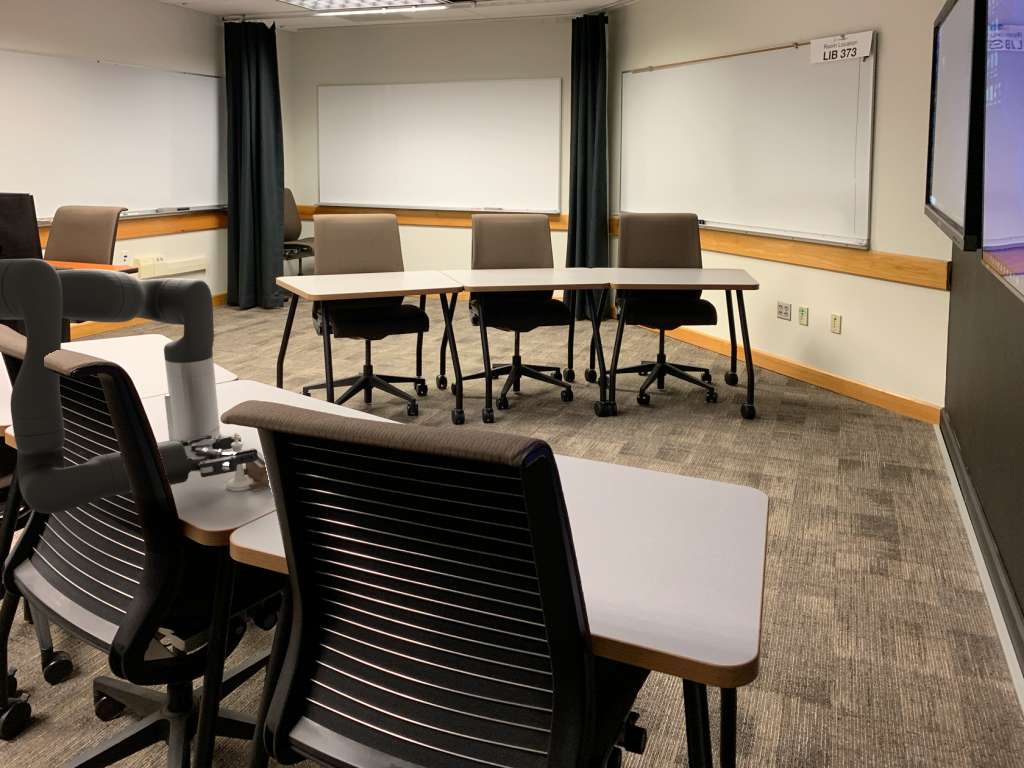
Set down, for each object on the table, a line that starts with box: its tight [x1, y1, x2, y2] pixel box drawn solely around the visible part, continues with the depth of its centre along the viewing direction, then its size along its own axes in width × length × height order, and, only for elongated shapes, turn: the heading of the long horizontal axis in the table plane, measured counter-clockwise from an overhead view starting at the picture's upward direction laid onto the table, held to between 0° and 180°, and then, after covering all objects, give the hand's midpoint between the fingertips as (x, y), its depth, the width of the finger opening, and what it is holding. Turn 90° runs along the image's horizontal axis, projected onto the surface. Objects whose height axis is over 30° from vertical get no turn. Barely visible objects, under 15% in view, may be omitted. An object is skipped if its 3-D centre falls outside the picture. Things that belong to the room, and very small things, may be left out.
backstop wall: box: [256, 449, 270, 489], centre depth 160 cm, size 1×7×5 cm, turn 36°
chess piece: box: [225, 432, 255, 492], centre depth 157 cm, size 5×5×10 cm
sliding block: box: [243, 459, 268, 491], centre depth 159 cm, size 3×8×4 cm, turn 35°
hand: (248, 447), depth 158 cm, fingers open, 8 cm apart
